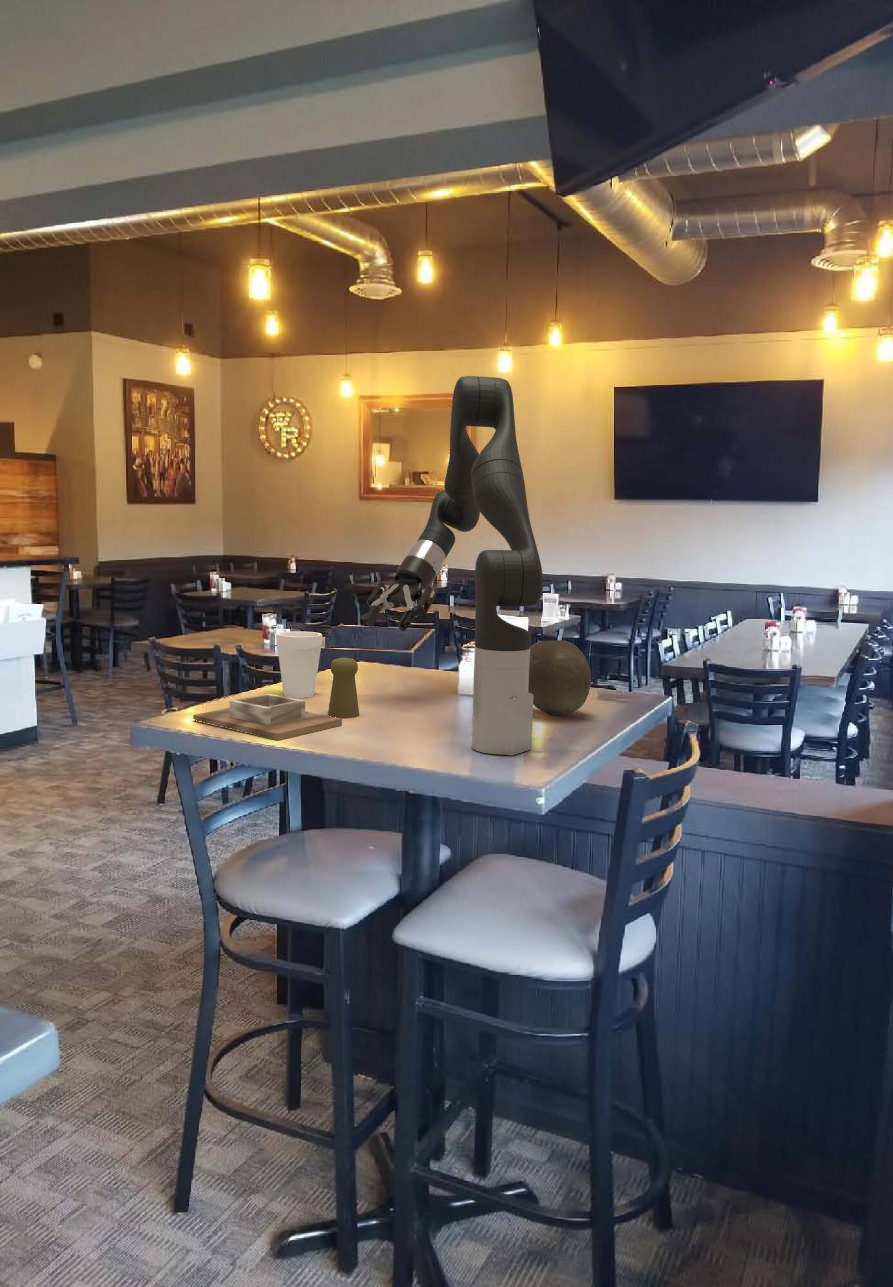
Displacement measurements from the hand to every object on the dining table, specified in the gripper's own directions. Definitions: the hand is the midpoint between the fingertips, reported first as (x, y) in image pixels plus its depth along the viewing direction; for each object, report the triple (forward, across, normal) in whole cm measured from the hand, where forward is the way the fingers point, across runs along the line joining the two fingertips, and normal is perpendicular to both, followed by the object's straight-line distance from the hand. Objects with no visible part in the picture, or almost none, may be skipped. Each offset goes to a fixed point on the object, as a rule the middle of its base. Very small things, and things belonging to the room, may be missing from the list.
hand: (384, 626), depth 192 cm
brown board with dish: (+30, -5, -8) cm, 32 cm away
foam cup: (+14, -20, +9) cm, 26 cm away
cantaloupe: (0, +30, +23) cm, 38 cm away
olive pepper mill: (+20, 0, +3) cm, 20 cm away
